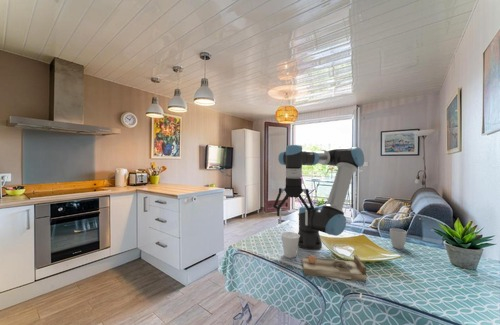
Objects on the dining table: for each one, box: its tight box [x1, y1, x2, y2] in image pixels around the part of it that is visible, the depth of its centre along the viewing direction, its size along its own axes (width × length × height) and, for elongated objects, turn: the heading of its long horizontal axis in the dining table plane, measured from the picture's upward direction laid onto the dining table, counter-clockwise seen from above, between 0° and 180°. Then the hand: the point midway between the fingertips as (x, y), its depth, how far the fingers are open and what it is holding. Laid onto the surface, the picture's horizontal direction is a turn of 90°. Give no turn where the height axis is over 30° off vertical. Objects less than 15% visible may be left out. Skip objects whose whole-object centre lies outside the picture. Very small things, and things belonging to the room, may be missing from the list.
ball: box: [307, 254, 317, 264], centre depth 96 cm, size 4×4×4 cm
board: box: [301, 254, 367, 282], centre depth 94 cm, size 12×25×6 cm, turn 79°
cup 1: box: [280, 231, 300, 259], centre depth 109 cm, size 10×10×11 cm
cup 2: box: [389, 227, 407, 250], centre depth 123 cm, size 8×8×10 cm
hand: (293, 223), depth 98 cm, fingers open, 11 cm apart
